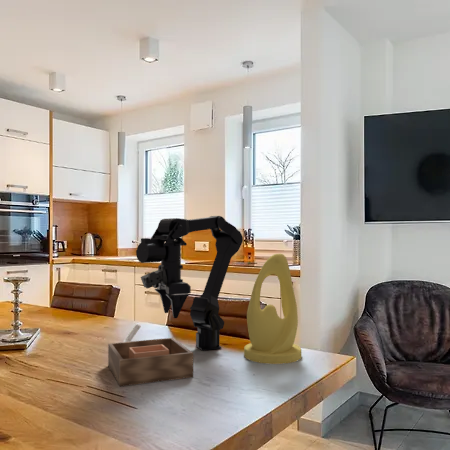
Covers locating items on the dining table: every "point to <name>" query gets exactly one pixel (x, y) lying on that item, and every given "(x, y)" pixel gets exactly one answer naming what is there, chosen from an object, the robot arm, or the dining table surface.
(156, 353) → the small crate
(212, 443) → the dining table surface
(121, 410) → the dining table surface
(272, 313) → the sculpture
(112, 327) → the dining table surface
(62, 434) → the dining table surface
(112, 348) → the big crate
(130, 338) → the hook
